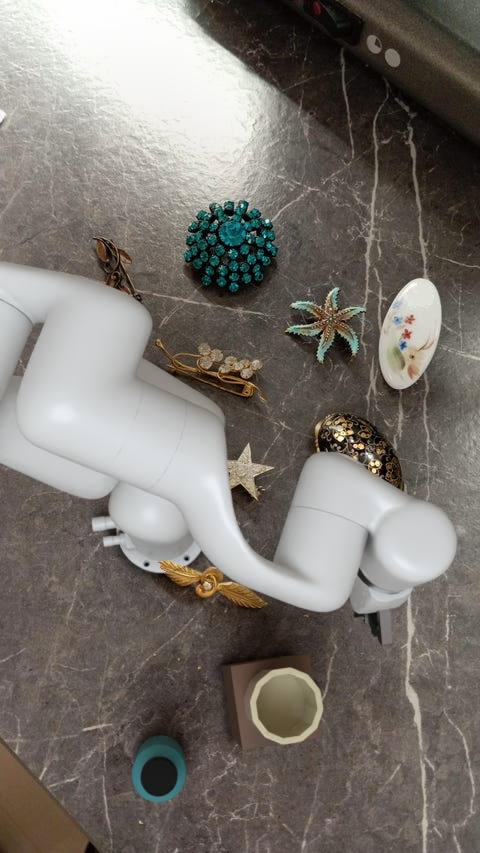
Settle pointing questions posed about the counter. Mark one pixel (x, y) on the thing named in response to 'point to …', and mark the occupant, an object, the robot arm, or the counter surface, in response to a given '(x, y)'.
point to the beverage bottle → (159, 769)
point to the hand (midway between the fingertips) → (359, 572)
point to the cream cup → (283, 704)
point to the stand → (235, 690)
